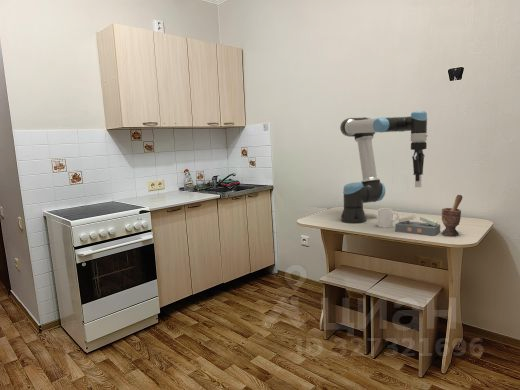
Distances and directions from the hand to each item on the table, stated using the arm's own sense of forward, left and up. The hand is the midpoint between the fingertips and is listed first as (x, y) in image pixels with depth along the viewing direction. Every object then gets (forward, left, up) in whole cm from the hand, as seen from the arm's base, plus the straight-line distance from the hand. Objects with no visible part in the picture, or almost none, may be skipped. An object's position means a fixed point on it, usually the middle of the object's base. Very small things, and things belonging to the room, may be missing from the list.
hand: (418, 187), depth 192 cm
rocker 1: (-6, 0, -18) cm, 18 cm away
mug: (-17, +4, -24) cm, 30 cm away
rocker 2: (+5, 0, -18) cm, 18 cm away
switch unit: (0, 0, -24) cm, 24 cm away
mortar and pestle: (+16, +3, -24) cm, 29 cm away
